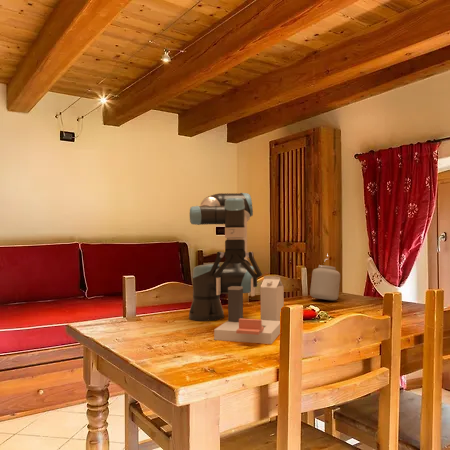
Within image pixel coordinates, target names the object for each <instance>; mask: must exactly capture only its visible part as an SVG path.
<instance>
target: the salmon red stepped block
mask: <svg viewBox="0 0 450 450" xmlns="http://www.w3.org/2000/svg"><path fill="white" fill-rule="evenodd" d="M263 330H264V327H262V320H261V318H260V319H258V318H257V319H256V318H255V319H254V318H243V319H241V318H240V319H239V329H237V330H236V333H240V334H255V335H259V334H260V333H261V332H262V331H263Z"/></svg>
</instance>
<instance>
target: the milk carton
mask: <svg viewBox="0 0 450 450" xmlns="http://www.w3.org/2000/svg"><path fill="white" fill-rule="evenodd" d="M259 290H260V320H270V321H280V312H281V308H282V307H283V306H284V307H285V305H284V304H285V301H284V300H285V299H284V297H285V293H284V290H285V289H284V283H283V282H282V280H281V276H271V275H270V276H269V275H263V280H262V283H261V285H260V289H259Z"/></svg>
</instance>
